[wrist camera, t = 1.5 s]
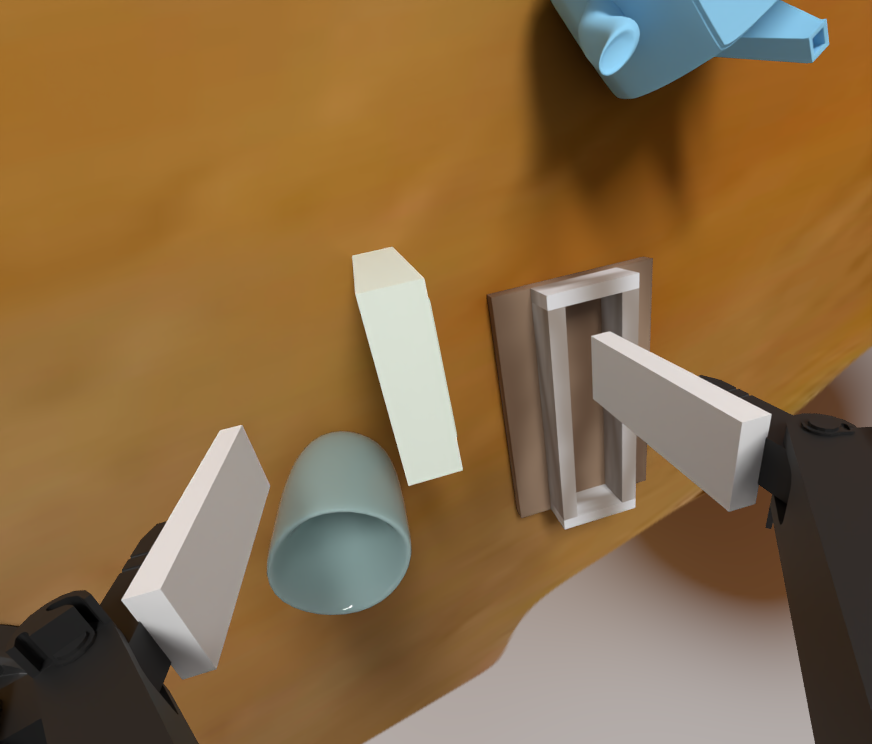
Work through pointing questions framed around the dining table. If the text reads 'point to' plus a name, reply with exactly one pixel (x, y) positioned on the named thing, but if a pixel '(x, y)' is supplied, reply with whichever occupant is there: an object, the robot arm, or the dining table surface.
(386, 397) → the pale rectangular block
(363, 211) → the dining table surface
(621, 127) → the dining table surface
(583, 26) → the teapot
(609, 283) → the track
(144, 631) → the robot arm
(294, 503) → the cup
